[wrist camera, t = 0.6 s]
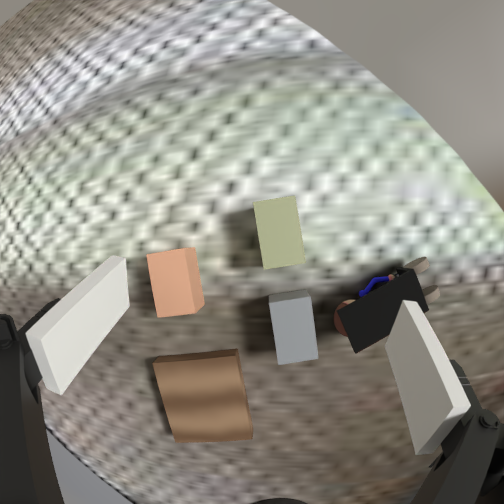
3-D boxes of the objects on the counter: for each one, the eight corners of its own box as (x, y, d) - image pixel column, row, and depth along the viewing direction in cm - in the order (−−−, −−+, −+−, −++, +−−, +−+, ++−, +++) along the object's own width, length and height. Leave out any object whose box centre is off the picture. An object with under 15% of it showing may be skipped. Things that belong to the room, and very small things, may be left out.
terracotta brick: (204, 304, 44) (195, 313, 38) (171, 308, 44) (157, 317, 38) (195, 247, 44) (184, 248, 38) (161, 253, 44) (146, 254, 38)
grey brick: (312, 343, 43) (318, 358, 37) (277, 349, 44) (278, 364, 38) (304, 289, 43) (310, 296, 37) (268, 294, 43) (269, 303, 37)
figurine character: (405, 252, 44) (320, 302, 43) (434, 251, 36) (338, 311, 35) (421, 292, 44) (340, 343, 43) (450, 296, 36) (359, 359, 35)
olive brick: (300, 260, 43) (305, 262, 37) (264, 266, 43) (263, 269, 37) (291, 202, 43) (294, 195, 37) (255, 207, 43) (252, 202, 37)
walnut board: (253, 428, 44) (252, 439, 41) (180, 432, 45) (175, 442, 42) (237, 348, 44) (235, 355, 41) (158, 356, 44) (152, 362, 41)
